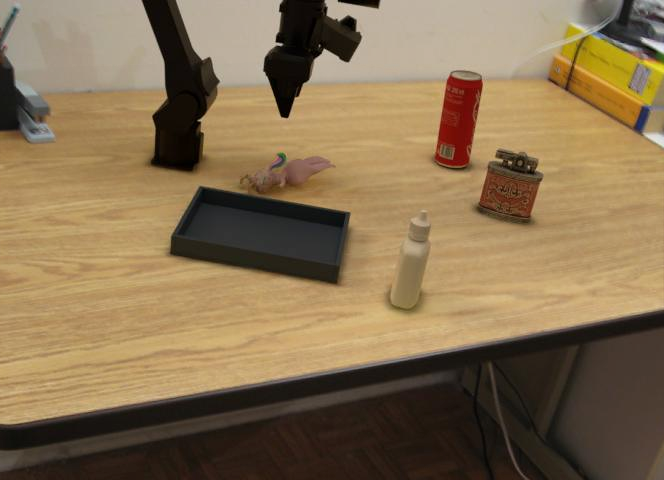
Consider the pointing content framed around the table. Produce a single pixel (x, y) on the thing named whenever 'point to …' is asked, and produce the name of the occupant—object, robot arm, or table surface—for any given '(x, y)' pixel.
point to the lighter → (510, 187)
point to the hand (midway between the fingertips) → (290, 106)
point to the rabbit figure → (286, 172)
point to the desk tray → (262, 234)
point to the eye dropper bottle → (411, 263)
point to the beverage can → (458, 118)
